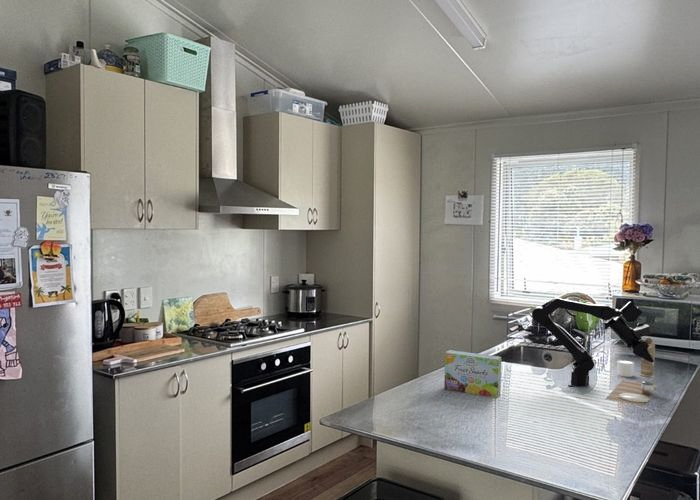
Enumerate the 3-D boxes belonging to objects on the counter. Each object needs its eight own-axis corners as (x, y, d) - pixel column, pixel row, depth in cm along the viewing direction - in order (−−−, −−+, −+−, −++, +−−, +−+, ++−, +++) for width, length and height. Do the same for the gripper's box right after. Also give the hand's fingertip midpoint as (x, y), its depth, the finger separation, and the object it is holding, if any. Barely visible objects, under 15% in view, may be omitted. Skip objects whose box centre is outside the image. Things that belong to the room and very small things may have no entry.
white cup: (631, 380, 249) (632, 364, 248) (614, 377, 253) (615, 361, 252) (635, 377, 254) (635, 361, 254) (618, 374, 258) (619, 359, 258)
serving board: (643, 409, 209) (643, 405, 209) (604, 402, 216) (605, 399, 216) (656, 388, 236) (656, 385, 236) (621, 383, 244) (622, 380, 244)
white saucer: (635, 403, 211) (635, 402, 211) (613, 396, 220) (613, 394, 220) (654, 401, 215) (654, 399, 215) (632, 393, 224) (632, 392, 224)
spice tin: (647, 395, 222) (648, 384, 222) (638, 392, 226) (639, 381, 226) (655, 394, 224) (656, 383, 224) (646, 391, 228) (646, 380, 228)
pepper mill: (644, 377, 226) (646, 339, 225) (637, 374, 231) (639, 336, 230) (656, 377, 226) (658, 339, 226) (648, 374, 231) (650, 336, 231)
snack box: (443, 389, 228) (444, 351, 227) (448, 386, 233) (449, 349, 232) (497, 398, 218) (498, 358, 218) (500, 394, 223) (502, 355, 223)
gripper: (644, 320, 220) (675, 352, 217) (634, 314, 238) (662, 342, 235) (620, 339, 222) (650, 371, 220) (612, 331, 240) (640, 360, 238)
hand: (651, 360), depth 228 cm, fingers closed on pepper mill, 5 cm apart
